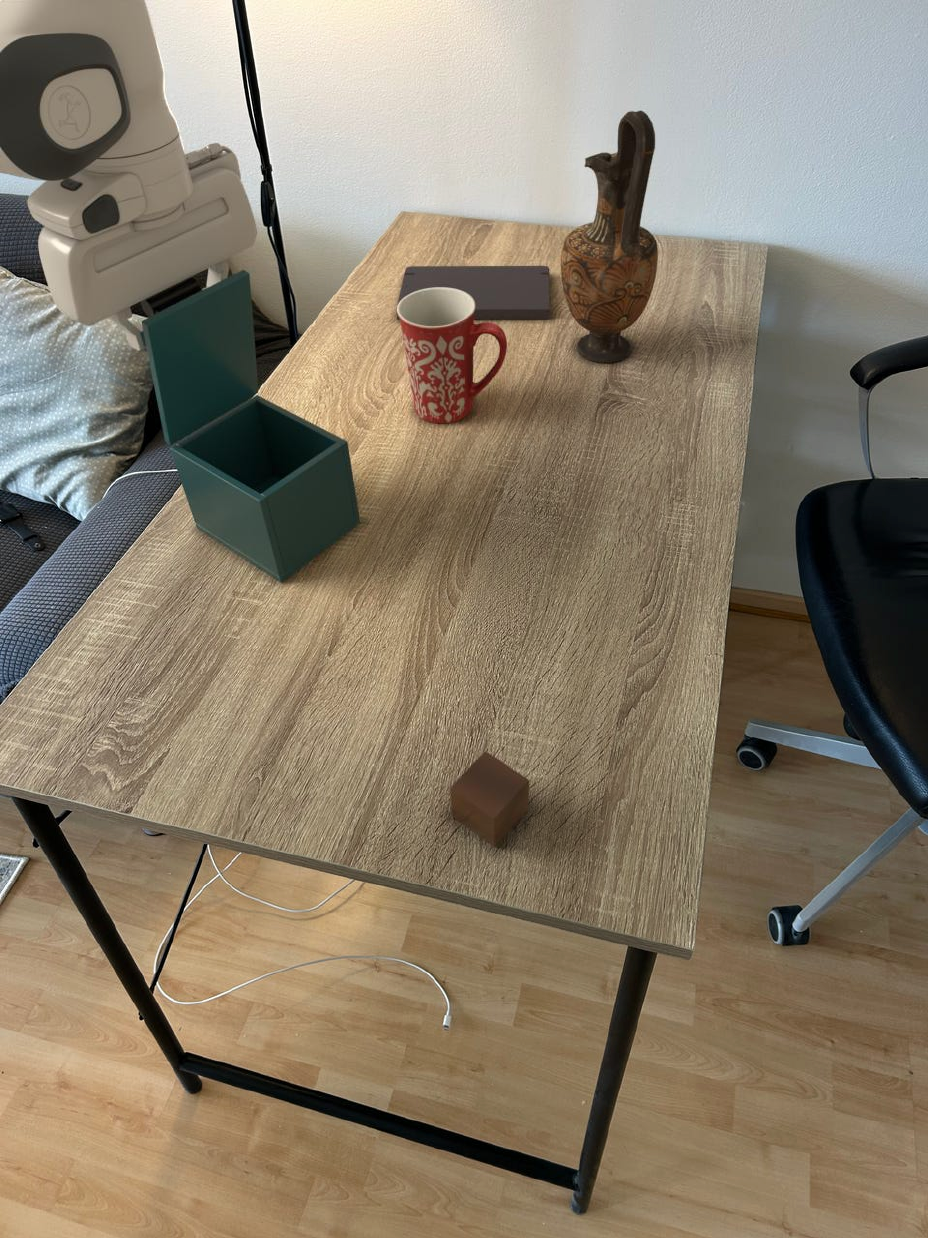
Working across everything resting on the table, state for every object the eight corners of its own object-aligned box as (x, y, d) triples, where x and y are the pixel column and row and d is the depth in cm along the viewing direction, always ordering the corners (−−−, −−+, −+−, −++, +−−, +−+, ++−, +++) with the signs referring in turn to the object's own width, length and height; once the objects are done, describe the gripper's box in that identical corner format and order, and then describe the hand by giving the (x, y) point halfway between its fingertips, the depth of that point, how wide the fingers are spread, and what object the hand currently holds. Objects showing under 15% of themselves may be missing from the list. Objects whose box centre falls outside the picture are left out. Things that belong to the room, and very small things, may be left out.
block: (494, 848, 70) (494, 819, 67) (452, 817, 72) (449, 787, 69) (528, 809, 73) (529, 780, 69) (486, 780, 75) (485, 750, 71)
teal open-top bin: (360, 523, 97) (347, 441, 89) (281, 583, 91) (259, 501, 83) (276, 474, 103) (256, 394, 95) (196, 528, 97) (169, 447, 89)
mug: (395, 422, 109) (384, 320, 99) (420, 382, 115) (412, 281, 105) (494, 438, 106) (493, 335, 96) (515, 396, 112) (516, 295, 102)
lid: (249, 273, 83) (211, 246, 84) (147, 325, 77) (108, 296, 78) (258, 392, 95) (225, 367, 96) (170, 445, 89) (136, 418, 90)
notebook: (397, 319, 126) (549, 319, 124) (395, 309, 124) (549, 308, 123) (406, 275, 134) (549, 275, 133) (405, 265, 133) (549, 265, 132)
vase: (623, 320, 123) (648, 76, 101) (664, 366, 115) (701, 112, 93) (543, 336, 121) (552, 91, 99) (580, 385, 113) (598, 129, 91)
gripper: (208, 128, 82) (241, 273, 92) (7, 207, 71) (70, 361, 82) (254, 143, 79) (283, 291, 89) (52, 228, 69) (110, 384, 79)
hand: (180, 325), depth 85 cm, fingers open, 7 cm apart
